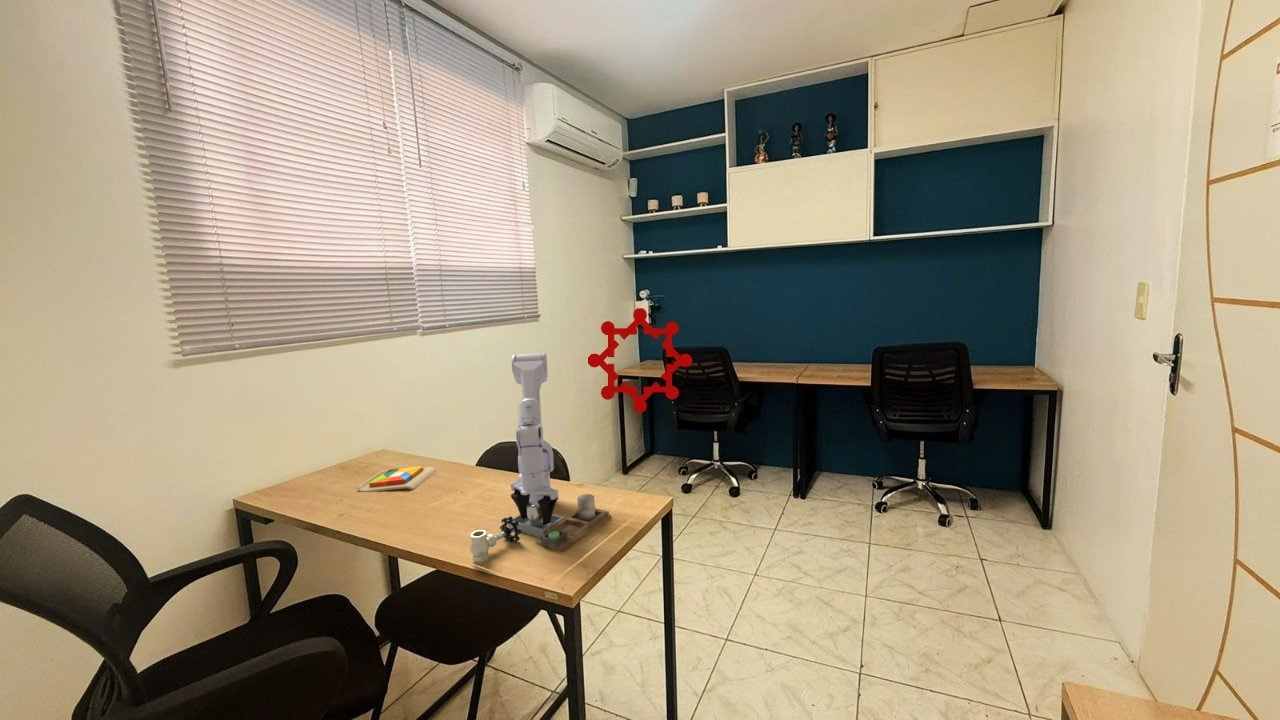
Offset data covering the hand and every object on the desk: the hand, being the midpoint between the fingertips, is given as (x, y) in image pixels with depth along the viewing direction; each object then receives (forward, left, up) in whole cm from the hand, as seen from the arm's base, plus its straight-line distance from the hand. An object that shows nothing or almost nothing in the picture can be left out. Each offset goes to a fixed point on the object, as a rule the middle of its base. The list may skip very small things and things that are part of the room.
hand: (536, 520), depth 126 cm
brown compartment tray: (+10, +3, -2) cm, 11 cm away
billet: (0, 0, -2) cm, 2 cm away
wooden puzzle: (-67, +5, -3) cm, 67 cm away
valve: (-1, -14, -2) cm, 14 cm away
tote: (0, 0, -2) cm, 2 cm away
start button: (+10, -5, -1) cm, 12 cm away
